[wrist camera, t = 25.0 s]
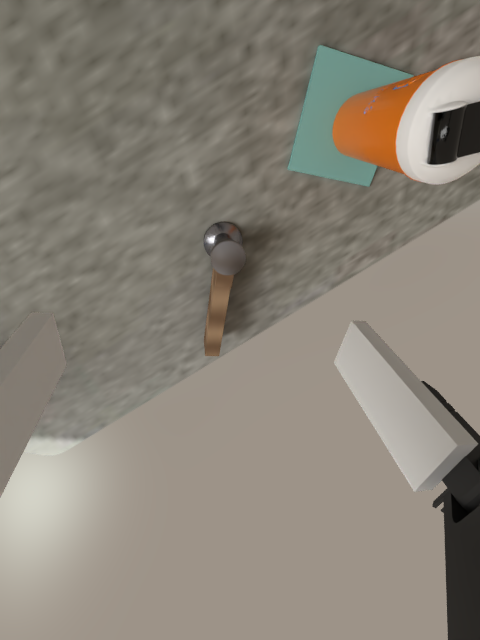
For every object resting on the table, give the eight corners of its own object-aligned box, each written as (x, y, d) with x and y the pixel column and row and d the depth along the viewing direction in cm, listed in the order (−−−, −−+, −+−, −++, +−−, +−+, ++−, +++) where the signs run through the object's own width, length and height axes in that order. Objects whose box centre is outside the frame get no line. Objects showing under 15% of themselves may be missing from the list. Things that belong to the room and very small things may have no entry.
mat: (318, 46, 33) (320, 44, 33) (410, 76, 36) (413, 75, 36) (287, 169, 40) (288, 169, 39) (367, 185, 43) (369, 186, 42)
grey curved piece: (206, 219, 42) (208, 229, 38) (245, 224, 43) (251, 235, 39) (201, 257, 45) (203, 270, 41) (238, 261, 47) (242, 274, 43)
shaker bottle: (392, 146, 40) (534, 161, 24) (332, 175, 41) (429, 208, 25) (386, 68, 35) (562, 18, 18) (318, 103, 36) (428, 85, 19)
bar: (210, 226, 41) (213, 239, 37) (241, 231, 42) (248, 244, 38) (197, 339, 53) (198, 360, 48) (222, 340, 54) (226, 361, 49)
